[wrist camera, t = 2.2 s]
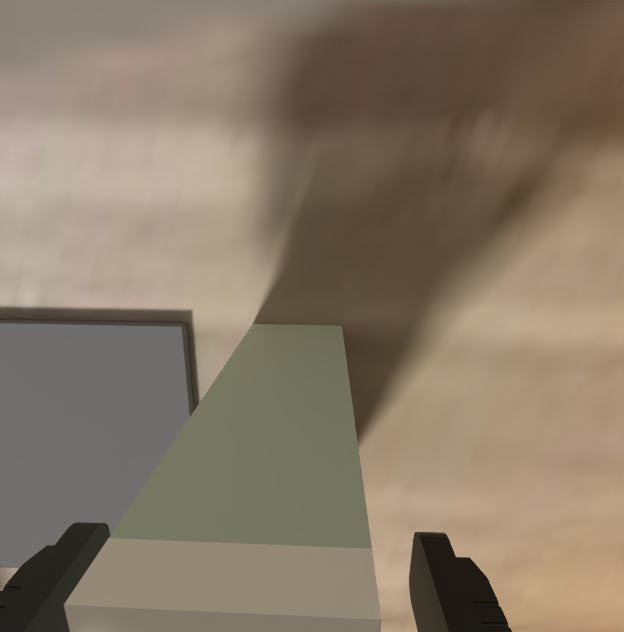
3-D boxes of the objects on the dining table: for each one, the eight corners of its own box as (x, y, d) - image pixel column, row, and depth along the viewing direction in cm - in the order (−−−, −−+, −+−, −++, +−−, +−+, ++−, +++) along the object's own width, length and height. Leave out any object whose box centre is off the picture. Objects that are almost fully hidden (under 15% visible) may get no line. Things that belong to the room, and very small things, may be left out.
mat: (186, 322, 17) (181, 326, 16) (207, 565, 20) (204, 575, 20) (-193, 315, 17) (-211, 319, 17) (-105, 552, 21) (-118, 562, 20)
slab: (342, 325, 16) (382, 619, 5) (337, 477, 19) (355, 949, 7) (252, 323, 17) (63, 604, 5) (258, 474, 19) (138, 931, 7)
